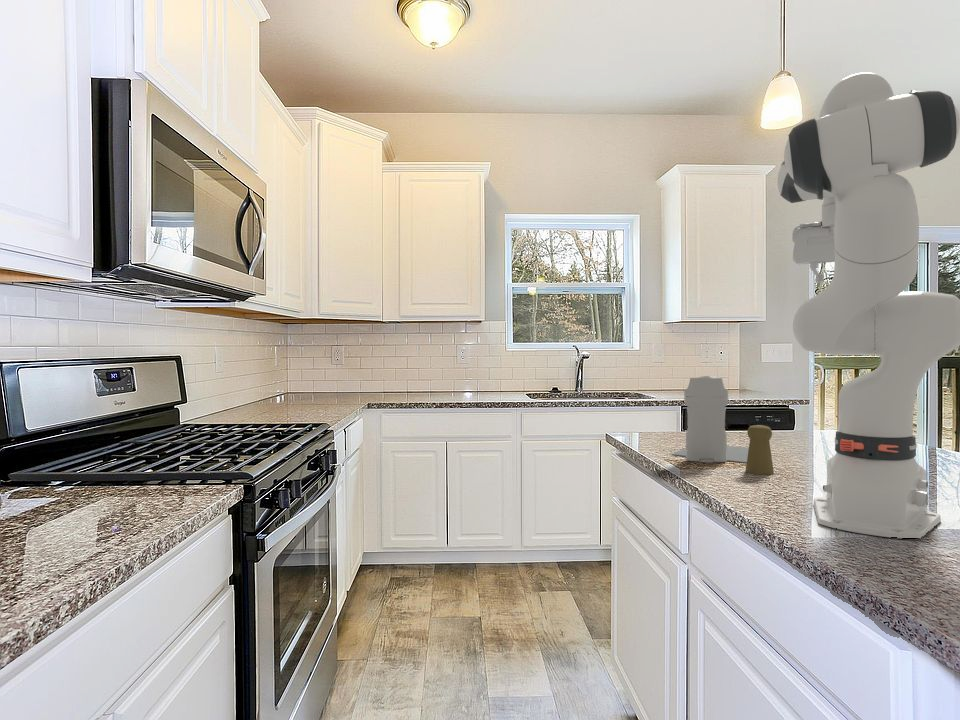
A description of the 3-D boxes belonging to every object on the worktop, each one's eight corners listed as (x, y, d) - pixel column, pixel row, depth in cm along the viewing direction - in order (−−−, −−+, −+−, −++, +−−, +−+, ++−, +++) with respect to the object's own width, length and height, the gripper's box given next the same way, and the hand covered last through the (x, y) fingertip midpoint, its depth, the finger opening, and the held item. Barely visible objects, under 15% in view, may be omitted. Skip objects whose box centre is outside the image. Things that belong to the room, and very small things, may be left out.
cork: (742, 469, 143) (742, 423, 143) (768, 469, 142) (768, 423, 142) (749, 474, 137) (750, 427, 137) (777, 475, 136) (777, 427, 136)
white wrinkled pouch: (684, 462, 152) (684, 376, 152) (683, 458, 156) (683, 375, 156) (729, 463, 150) (729, 376, 149) (727, 460, 154) (727, 375, 153)
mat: (750, 463, 149) (750, 462, 149) (671, 455, 162) (671, 454, 162) (769, 450, 167) (769, 449, 167) (697, 443, 179) (697, 442, 179)
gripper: (789, 222, 136) (789, 283, 137) (899, 209, 124) (898, 276, 124) (795, 226, 141) (794, 285, 141) (900, 214, 129) (900, 279, 129)
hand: (844, 281), depth 133 cm, fingers open, 8 cm apart
